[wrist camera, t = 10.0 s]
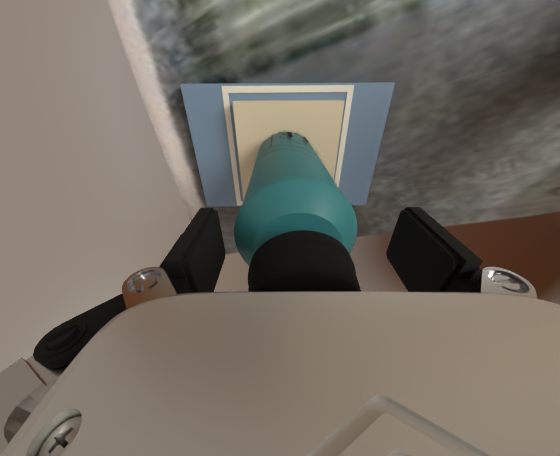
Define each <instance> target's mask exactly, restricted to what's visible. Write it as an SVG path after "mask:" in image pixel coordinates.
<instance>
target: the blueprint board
mask: <svg viewBox="0 0 560 456" xmlns="http://www.w3.org/2000/svg"><path fill="white" fill-rule="evenodd" d="M180 86H181V91H182V96H183V100H184V105H185V109H186V114H187V118H188V123H189V128H190V132H191V137H192V141H193V146H194V150H195V155H196V159H197V164H198V169H199V173H200V178H201V182H202V187H203V191H204V196H205V200H206V205H207V207H230V206H242V203H243V200H244V197H245V194H246V191H247V188H248V185H249V182H250V179H251V176H252V172H253V168H254V164H255V161H256V157H257V154H256V153H258V151H259V150H258V149H260V147H259V145H260V146H261V145H262V143H263V141H265V140H266V139H268V138H269V137H270V136H271V135H272V134H273V135H274V134H276V133H279V132H294V133H298V134H299V135H301V136H302V137H303V136H305V138H306V139H307V138H308V139H309V140H310V141H309V140H308V139H307V140H308V142H309V143H310V145H311V146H312V148H313V149H314V151H315V152H316V151H317V152H318V153H319V154H318V153H317V152H316V154H317V155H318V156H319V158H320V160H321V161H322V163H323V164H324V166H325V167H326V169H327V170H328V172H329V173H330V175H331V177H332V176H333V180H334V182H335V184H336V183H337V187H338V188H339V190H340V189H341V190H340V191H341V192H342V193H343V194H344V195H345V196H346V198H347V199H348V201H349V202H350V204H351V205H366V202H367V198H368V194H369V190H370V185H371V181H372V177H373V173H374V169H375V165H376V161H377V156H378V152H379V148H380V144H381V140H382V136H383V131H384V127H385V123H386V119H387V115H388V111H389V107H390V102H391V98H392V94H393V90H394V86H395V82H383V83H242V84H180ZM282 130H283V131H282ZM290 130H291V131H290ZM277 131H278V132H277ZM266 137H267V138H266ZM261 142H262V143H261ZM311 143H312V144H311ZM258 147H259V148H258ZM257 150H258V151H257ZM326 165H327V166H326Z"/></svg>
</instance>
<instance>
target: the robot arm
mask: <svg viewBox="0 0 560 456" xmlns="http://www.w3.org/2000/svg"><path fill="white" fill-rule="evenodd" d="M387 258H388V260H389V261H390V263H391V265H392V266H393V268H394V269H395V271H396V273H397V274H398V276H399V277H400V279H401V281H402V282H403V284H404V285H405V287H406V289H407V290H408V292H365V291H363V292H362V291H284V292H214V289H215V286H216V283H217V280H218V277H219V274H220V271H221V268H222V265H223V262H224V259H225V248H224V243H223V238H222V233H221V227H220V222H219V217H218V212H217V211H214V209H213V208H200V209H199V211H198V212H197V214H196V215H195V217H194V218H193V220H192V221H191V223H190V224H189V225H188V227H187V228H186V230H185V232H184V233H183V234H182V235H181V236H180V237H179V239H178V240H177V242H176V243H175V245H174V246H173V248H172V249H171V250H170V252H169V253H168V255H167V256H166V258H165V259H164V261H163V262H162V264H161V265H160V267H149V268H145V269H142V270H140V271H137V272H135V273H134V274H132V275H131V276H130V277H128V279H127V280H125V282H124V283H123V285H122V294H120V295H118V296H116V297H114V298H113V299H110V300H108V301H106V302H104V303H102V304H100V305H98V306H96V307H94V308H92V309H90V310H88V311H86V312H84V313H82V314H80V315H78V316H76V317H74V318H72V319H70V320H69V321H66V322H64V323H62V324H61V325H59V326H57V327H55V328H54V329H53V330H51V331H50V332H49V333H47V334H46V335H45V336H44V337H43V338H42V339H41V340H40V341H39V343H38V344H37V346H36V347H35V349H34V353H33V356H31V357H30V358H28V359H27V360H24V359H23V358H21V359H20V360H18V361H17V362H15V363H14V364H12V365H11V366H9V367H8V368H6V369H5V370H4V371H2V372H1V373H0V456H560V305H558V304H555V303H551V302H547V301H543V300H540V299H538V298H537V295H536V291H535V289H534V287H533V286H532V285H531V284H530V282H528V281H527V280H526V279H524V278H523V277H521V276H519V275H517V274H515V273H513V272H511V271H508V270H505V269H502V268H497V267H487V268H484V269H483V270H481V269H480V268H479V266H480V265H481V263H482V262H483V261H482V260H481V259H480V258H479V257H477V256H476V255H475V254H474V253H473V252H472V251H470V250H469V249H468V248H467V247H466V246H465V245H463V244H462V243H461V242H460V241H458V239H456V238H455V237H454V236H453V235H452V234H451V233H449V232H448V231H447V230H446V229H445V228H443V227H442V226H441V225H440V224H439V223H438V222H436V221H435V220H434V219H433V218H432V217H431V216H429V215H428V214H427V213H426V212H425V211H424V210H422V209H421V208H420V207H407V208H405V209H404V210H402V211H401V213H400V215H399V218H398V221H397V224H396V227H395V229H394V232H393V235H392V238H391V241H390V244H389V246H388V249H387Z"/></svg>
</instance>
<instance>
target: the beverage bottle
mask: <svg viewBox="0 0 560 456" xmlns="http://www.w3.org/2000/svg"><path fill="white" fill-rule="evenodd" d="M282 131H283V130H282ZM290 131H291V130H290ZM277 132H278V131H277ZM266 138H267V137H266ZM307 139H308V138H307ZM307 139H306V138H305V136H303V137H302V136H301V135H299V134H298V133H294V132H279V133H276V134H274V135H273V134H272V135H271V136H270V137H269V138H268V139H266V140H265V141H263V143H262V142H261V143H262V145H261V146H260V145H259V147H260V149H258V150H259V151H258V150H257V151H258V153H256V154H257V157H256V161H255V164H254V168H253V172H252V176H251V179H250V182H249V185H248V188H247V191H246V194H245V197H244V200H243V203H242V206H241V208H240V210H239V212H238V215H237V217H236V221H235V226H234V237H235V242H236V246H237V248H238V251H239V253H240V255H241V256H242V258H243V259H244V261H245V262H246V263H247V264H248V265H249V272H248V285H249V291H248V292H284V291H361V290H360V286H359V283H358V280H357V277H356V272H355V267H354V264H353V261H352V259H351V257H350V254H349V253H350V252H351V250H352V248H353V246H354V244H355V240H356V236H357V219H356V215H355V212H354V209H353V207H352V205H351V204H350V202H349V201H348V199H347V198H346V196H345V195H344V194H343V193H342V192H341V191H340V190H341V189H340V190H339V188H338V187H337V183H336V184H335V182H334V180H333V176H332V177H331V175H330V173H329V172H328V170H327V169H326V167H325V166H324V164H323V163H322V161H321V160H320V158H319V156H318V155H317V154H316V152H317V151H316V152H315V151H314V149H313V148H312V146H311V145H310V143H309V142H308V140H309V139H308V140H307ZM309 141H310V140H309ZM311 144H312V143H311ZM259 147H258V148H259ZM317 153H318V152H317ZM318 154H319V153H318ZM326 166H327V165H326Z"/></svg>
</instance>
